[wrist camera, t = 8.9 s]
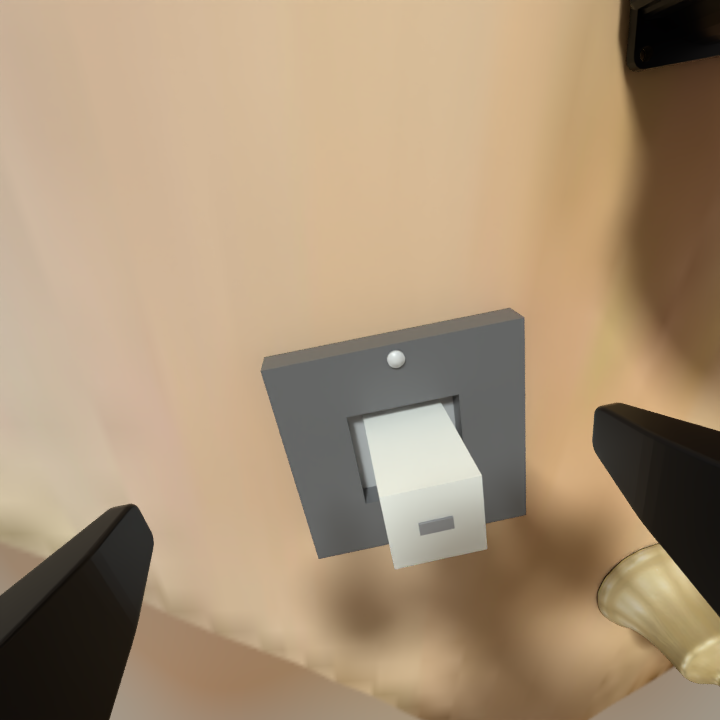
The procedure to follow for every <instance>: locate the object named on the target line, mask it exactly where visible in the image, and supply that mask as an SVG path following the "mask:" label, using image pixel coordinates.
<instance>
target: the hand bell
mask: <svg viewBox="0 0 720 720" xmlns="http://www.w3.org/2000/svg"><path fill="white" fill-rule="evenodd" d="M598 607H599V609H600V611H601V612H602V614H603V615H604V616H605V617H606V618H607V619H609V620H610V621H612V622H614V623H615V624H617V625H619V626H622V627H626V628H630V629H632V630H634V631H636V632H637V633H639V634H641V635H642V636H643V637H645V638H646V639H647V640H649V641H650V642H651V643H652V644H653V645H654V646H655V647H656V648H658V649H659V650H660V651H661V652H662V653H663V654H664V655H665V656H666V657H667V659H668V660H669V661H670V662H671V663H672V664H673V665H674V666H675V667H676V669H677V670H678V671H679V672H680V673H681V674H682V675H683V676H684V677H685V678H686V679H688V680H689V681H691V682H695V683H698V684H716V685H718V686H720V618H719V616H718V615H717V614H716V613H715V611H714V610H713V609H712V608H711V606H710V605H709V604H708V603H707V602H706V600H705V599H704V598H703V597H702V595H701V594H700V593H699V592H698V591H697V589H696V588H695V587H694V586H693V584H692V583H691V582H690V581H689V580H688V578H687V577H686V576H685V575H684V573H683V572H682V571H681V570H680V568H679V567H678V566H677V565H676V564H675V562H674V561H673V560H672V559H671V557H670V556H669V555H668V554H667V553H666V551H665V550H664V549H663V548H662V546H661V545H660V544H656V545H653V546H649V547H647V548H644V549H642V550H639V551H637V552H636V553H633V554H632V555H630V556H628V557H627V558H625V559H624V560H623V561H621V562H620V563H619V564H618V565H617V566H616V567H615V568H614V569H613V570H612V571H611V572H610V574H608V575H607V576H606V578H605V579H604V581H603V583H602V585H601V587H600V589H599V592H598Z"/></svg>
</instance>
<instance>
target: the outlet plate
mask: <svg viewBox="0 0 720 720" xmlns="http://www.w3.org/2000/svg"><path fill="white" fill-rule="evenodd" d="M261 373H262V377H263V380H264V383H265V386H266V390H267V393H268V396H269V399H270V403H271V406H272V409H273V412H274V416H275V419H276V422H277V425H278V429H279V432H280V435H281V438H282V441H283V445H284V448H285V451H286V454H287V458H288V461H289V464H290V467H291V471H292V474H293V477H294V480H295V484H296V487H297V490H298V493H299V497H300V500H301V503H302V506H303V509H304V513H305V516H306V519H307V522H308V526H309V529H310V532H311V535H312V539H313V542H314V545H315V548H316V552H317V555H318V558H319V559H321V558H326V557H330V556H335V555H340V554H345V553H349V552H354V551H359V550H363V549H368V548H373V547H378V546H382V545H387V544H389V541H388V536H387V532H386V527H385V522H384V518H383V513H382V508H381V504H380V499H379V494H378V489H377V484H376V479H375V474H374V469H373V464H372V459H371V454H370V450H369V445H368V440H367V435H366V430H365V425H364V420H363V415H364V414H369V413H373V412H378V411H383V410H387V409H392V408H397V407H401V406H406V405H411V404H416V403H420V402H425V401H430V400H434V399H439V400H440V402H441V403H442V405H443V407H444V409H445V411H446V412H447V414H448V416H449V418H450V419H451V421H452V423H453V425H454V427H455V428H456V430H457V432H458V434H459V436H460V437H461V439H462V441H463V443H464V444H465V446H466V448H467V450H468V452H469V453H470V455H471V457H472V459H473V460H474V462H475V464H476V466H477V468H478V469H479V471H480V473H481V475H482V483H483V497H484V510H485V524H486V523H491V522H495V521H500V520H505V519H509V518H514V517H519V516H523V515H526V462H525V336H524V317H523V316H521V315H520V314H518V313H517V312H515V311H514V310H512V309H511V308H507V309H502V310H497V311H492V312H487V313H482V314H477V315H472V316H467V317H462V318H457V319H452V320H447V321H443V322H438V323H433V324H428V325H423V326H418V327H413V328H408V329H403V330H398V331H393V332H388V333H383V334H378V335H373V336H368V337H363V338H358V339H353V340H348V341H343V342H338V343H334V344H329V345H324V346H319V347H314V348H309V349H304V350H299V351H294V352H289V353H284V354H279V355H274V356H269V357H264V361H263V364H262V368H261Z"/></svg>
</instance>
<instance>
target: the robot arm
mask: <svg viewBox="0 0 720 720" xmlns="http://www.w3.org/2000/svg"><path fill="white" fill-rule="evenodd" d="M630 5H631V9H630V22H629V34H628V47H627V65H628V67H629V69H630V70H632V71H634V72H639V71H644V70H649V69H655V68H660V67H665V66H670V65H675V64H681V63H686V62H691V61H696V60H702V59H707V58H712V57H717V56H720V0H630ZM642 49H644V51H645V59H644V60H643V61H642V60H641V59H640V53H641V50H642ZM592 442H593V447H594V450H595V453H596V454H597V456H598V457H599V459H600V460H601V462H602V463H603V465H604V466H605V468H606V469H607V471H608V472H609V474H610V475H611V477H612V478H613V480H614V482H615V483H616V485H617V486H618V488H619V489H620V491H621V492H622V494H623V495H624V497H625V498H626V500H627V501H628V503H629V504H630V506H631V507H632V509H633V510H634V512H635V513H636V514H637V516H638V517H639V519H640V520H641V521H642V523H643V524H644V525H645V526H646V528H647V529H648V530H649V532H650V533H651V534H652V535H653V537H654V538H655V539H656V540H657V541H658V543H659V544H660V545H661V546H662V548H663V549H664V550H665V551H666V553H667V554H668V555H669V556H670V557H671V559H672V560H673V561H674V562H675V564H676V565H677V566H678V567H679V568H680V570H681V571H682V572H683V573H684V575H685V576H686V577H687V578H688V580H689V581H690V582H691V583H692V584H693V586H694V587H695V588H696V589H697V591H698V592H699V593H700V594H701V595H702V597H703V598H704V599H705V600H706V602H707V603H708V604H709V605H710V606H711V608H712V609H713V610H714V611H715V613H716V614H717V615H718V616H719V618H720V431H717V430H713V429H710V428H706V427H703V426H700V425H696V424H693V423H689V422H686V421H682V420H679V419H675V418H672V417H668V416H665V415H661V414H658V413H654V412H651V411H647V410H644V409H640V408H637V407H633V406H630V405H626V404H623V403H613V404H608V405H603V406H599V407H598V408H597V409H596V410H595V414H594V425H593V439H592ZM153 546H154V541H153V535H152V532H151V531H150V529H149V527H148V525H147V523H146V521H145V519H144V517H143V515H142V514H141V512H140V510H139V508H138V507H137V506H136V505H134V504H127V505H122V506H117V507H113V508H110V509H109V510H107V511H106V512H105V513H104V514H102V515H101V516H100V517H99V518H97V519H96V520H95V521H93V522H92V523H91V524H90V525H88V526H87V527H86V528H85V529H83V530H82V531H81V532H80V533H78V534H77V535H76V536H75V537H73V538H72V539H71V540H70V541H68V542H67V543H66V544H65V545H63V546H62V547H61V548H60V549H58V550H57V551H56V552H54V553H53V554H52V555H51V556H49V557H48V558H47V559H46V560H44V561H43V562H42V563H41V564H39V565H38V566H37V567H36V568H34V569H33V570H32V571H31V572H29V573H28V574H27V575H26V576H25V577H23V578H22V579H21V580H19V581H18V582H17V583H15V584H14V585H13V586H12V587H11V588H9V589H8V590H7V591H6V592H4V593H3V594H2V595H1V596H0V720H109V719H110V716H111V712H112V709H113V705H114V702H115V699H116V696H117V693H118V689H119V686H120V683H121V679H122V676H123V673H124V670H125V666H126V663H127V660H128V656H129V653H130V650H131V646H132V643H133V640H134V636H135V633H136V629H137V625H138V620H139V616H140V611H141V606H142V601H143V596H144V591H145V586H146V581H147V576H148V571H149V566H150V562H151V557H152V552H153Z"/></svg>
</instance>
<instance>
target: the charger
mask: <svg viewBox="0 0 720 720" xmlns="http://www.w3.org/2000/svg"><path fill="white" fill-rule="evenodd" d="M363 420H364V425H365V430H366V435H367V440H368V445H369V450H370V454H371V459H372V464H373V469H374V474H375V479H376V484H377V489H378V494H379V499H380V504H381V508H382V513H383V518H384V522H385V527H386V532H387V536H388V541H389V546H390V550H391V555H392V560H393V564H394V569H399V568H404V567H408V566H413V565H417V564H422V563H427V562H431V561H436V560H440V559H445V558H449V557H454V556H458V555H463V554H468V553H472V552H477V551H481V550H486V549H487V537H486V524H485V510H484V497H483V483H482V475H481V473H480V471H479V469H478V468H477V466H476V464H475V462H474V460H473V459H472V457H471V455H470V453H469V452H468V450H467V448H466V446H465V444H464V443H463V441H462V439H461V437H460V436H459V434H458V432H457V430H456V428H455V427H454V425H453V423H452V421H451V419H450V418H449V416H448V414H447V412H446V411H445V409H444V407H443V405H442V403H441V402H440V400H439V399H434V400H430V401H425V402H420V403H416V404H411V405H406V406H401V407H397V408H392V409H387V410H383V411H378V412H373V413H369V414H364V415H363Z"/></svg>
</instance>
